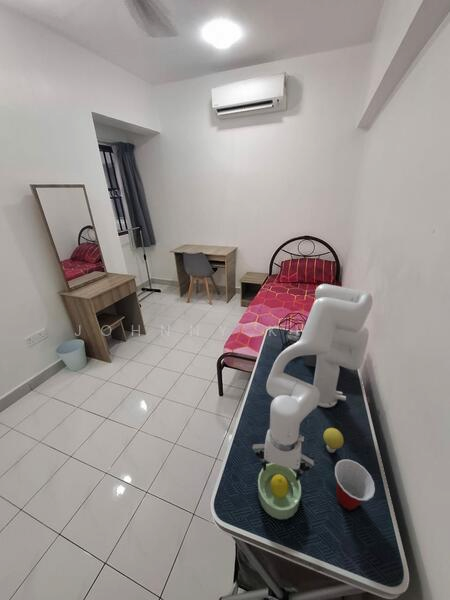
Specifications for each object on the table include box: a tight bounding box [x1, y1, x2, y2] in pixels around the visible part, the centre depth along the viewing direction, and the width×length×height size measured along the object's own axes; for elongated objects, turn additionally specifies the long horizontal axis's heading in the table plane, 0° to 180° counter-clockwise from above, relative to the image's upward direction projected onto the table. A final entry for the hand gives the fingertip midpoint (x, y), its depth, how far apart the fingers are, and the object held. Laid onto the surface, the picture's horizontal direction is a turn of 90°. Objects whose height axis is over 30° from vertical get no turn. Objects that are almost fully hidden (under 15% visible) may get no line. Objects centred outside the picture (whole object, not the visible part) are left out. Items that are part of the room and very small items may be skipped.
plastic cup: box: [334, 459, 376, 510], centre depth 73 cm, size 11×11×12 cm
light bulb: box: [322, 427, 345, 454], centre depth 87 cm, size 7×7×10 cm
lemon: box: [270, 474, 288, 498], centre depth 76 cm, size 6×6×8 cm
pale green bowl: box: [257, 462, 302, 520], centre depth 76 cm, size 13×13×6 cm
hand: (281, 470), depth 72 cm, fingers open, 9 cm apart
